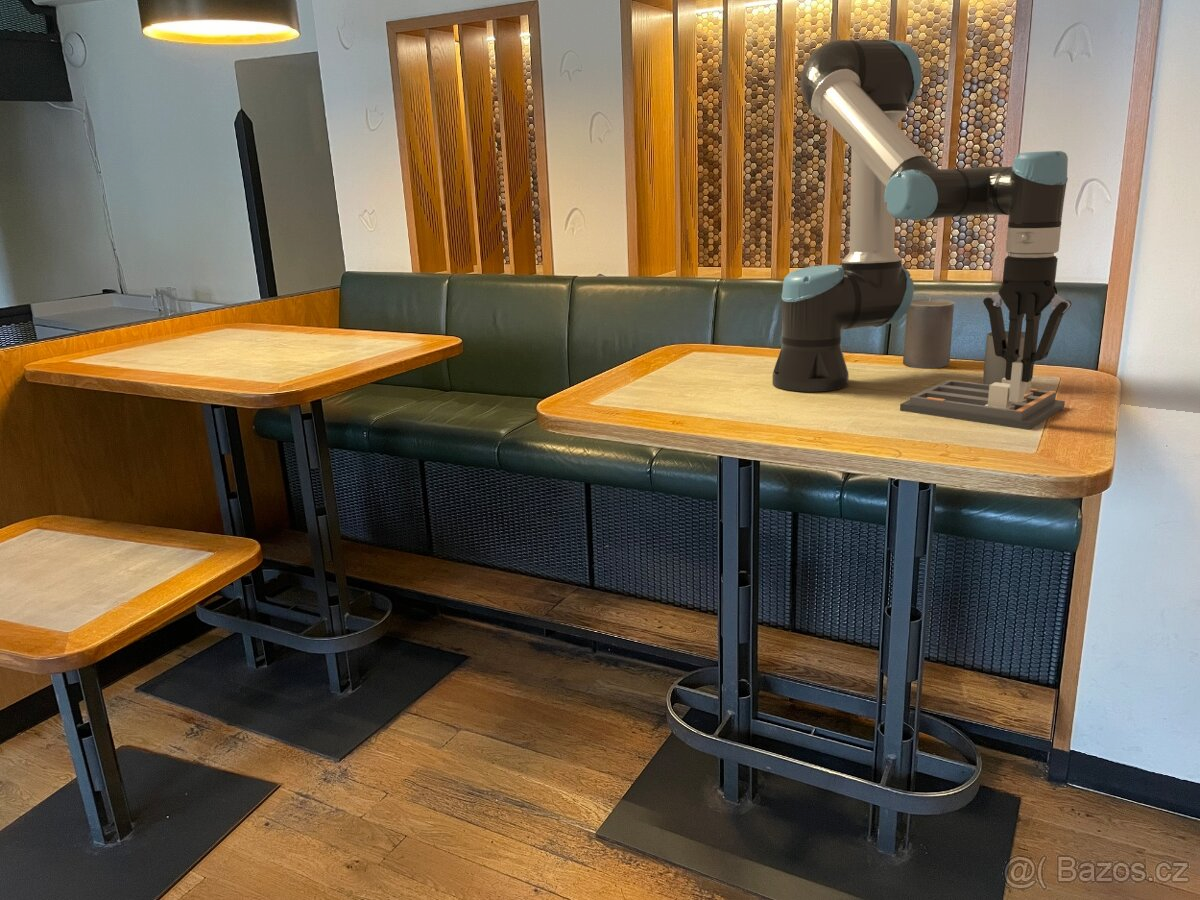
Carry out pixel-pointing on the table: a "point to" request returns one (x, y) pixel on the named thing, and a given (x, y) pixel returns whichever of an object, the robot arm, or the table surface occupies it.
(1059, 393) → the table surface
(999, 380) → the cup
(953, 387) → the slotted block puzzle
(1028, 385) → the tab back
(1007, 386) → the tab front
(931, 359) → the pillar candle
